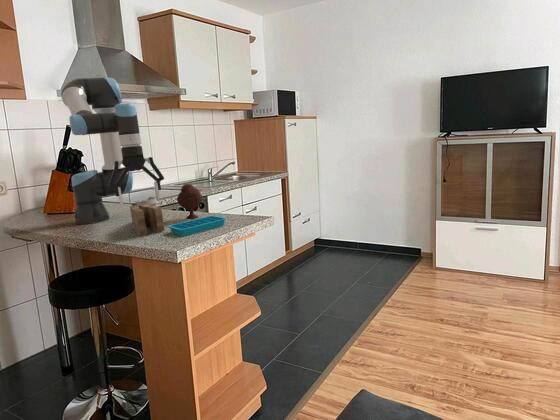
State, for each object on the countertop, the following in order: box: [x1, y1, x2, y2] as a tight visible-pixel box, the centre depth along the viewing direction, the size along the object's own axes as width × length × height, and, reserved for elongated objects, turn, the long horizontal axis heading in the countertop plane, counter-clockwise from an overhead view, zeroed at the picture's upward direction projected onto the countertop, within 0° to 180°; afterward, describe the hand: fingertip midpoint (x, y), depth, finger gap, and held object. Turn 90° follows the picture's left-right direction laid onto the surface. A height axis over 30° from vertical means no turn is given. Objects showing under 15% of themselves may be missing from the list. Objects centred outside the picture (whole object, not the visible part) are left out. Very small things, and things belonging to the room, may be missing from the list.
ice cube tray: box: [167, 215, 227, 237], centre depth 163 cm, size 12×20×3 cm, turn 131°
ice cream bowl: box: [176, 183, 203, 220], centre depth 184 cm, size 11×11×15 cm
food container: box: [134, 196, 158, 207], centre depth 185 cm, size 12×6×10 cm, turn 168°
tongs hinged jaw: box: [138, 204, 165, 233], centre depth 169 cm, size 17×2×9 cm, turn 39°
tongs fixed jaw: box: [129, 202, 148, 237], centre depth 168 cm, size 21×4×10 cm, turn 27°
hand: (140, 201), depth 163 cm, fingers open, 13 cm apart
